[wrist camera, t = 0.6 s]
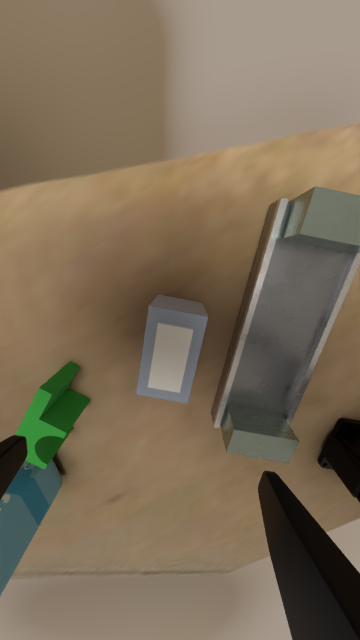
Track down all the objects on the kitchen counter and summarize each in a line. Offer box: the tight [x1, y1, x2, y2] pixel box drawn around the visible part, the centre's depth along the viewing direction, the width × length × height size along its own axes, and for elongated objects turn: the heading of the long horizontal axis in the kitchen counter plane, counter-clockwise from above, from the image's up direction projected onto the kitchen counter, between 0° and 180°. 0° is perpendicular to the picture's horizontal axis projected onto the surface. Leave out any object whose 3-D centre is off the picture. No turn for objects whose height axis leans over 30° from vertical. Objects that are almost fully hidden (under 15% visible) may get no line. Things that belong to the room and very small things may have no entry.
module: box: [136, 294, 208, 404], centre depth 16 cm, size 4×7×5 cm, turn 169°
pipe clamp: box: [16, 362, 90, 470], centre depth 19 cm, size 11×4×5 cm, turn 147°
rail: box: [211, 186, 360, 463], centre depth 16 cm, size 7×20×4 cm, turn 169°
